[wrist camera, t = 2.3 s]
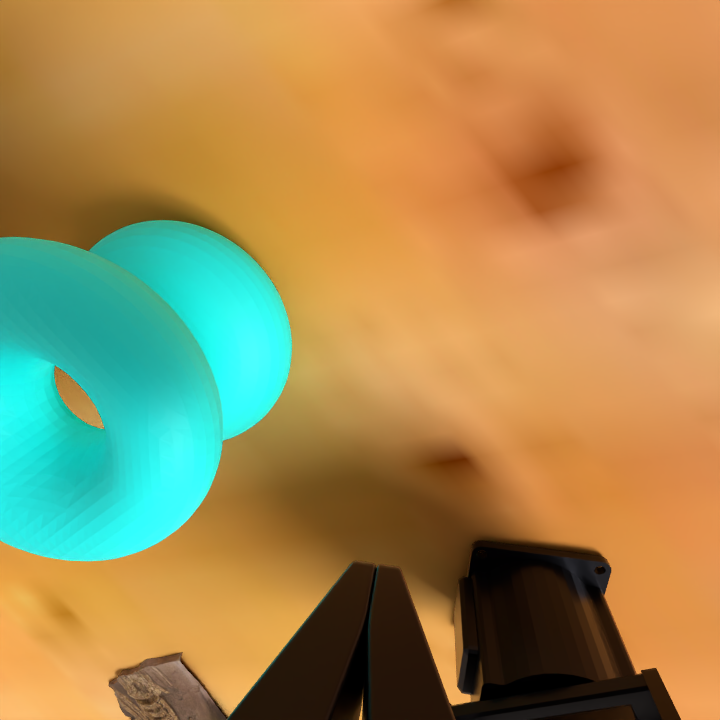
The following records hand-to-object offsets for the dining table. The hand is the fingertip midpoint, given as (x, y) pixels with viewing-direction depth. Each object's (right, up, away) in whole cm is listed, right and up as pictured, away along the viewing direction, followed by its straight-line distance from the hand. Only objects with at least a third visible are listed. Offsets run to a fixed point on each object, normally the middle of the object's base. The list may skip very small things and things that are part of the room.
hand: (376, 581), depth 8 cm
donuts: (-8, +5, +13) cm, 17 cm away
